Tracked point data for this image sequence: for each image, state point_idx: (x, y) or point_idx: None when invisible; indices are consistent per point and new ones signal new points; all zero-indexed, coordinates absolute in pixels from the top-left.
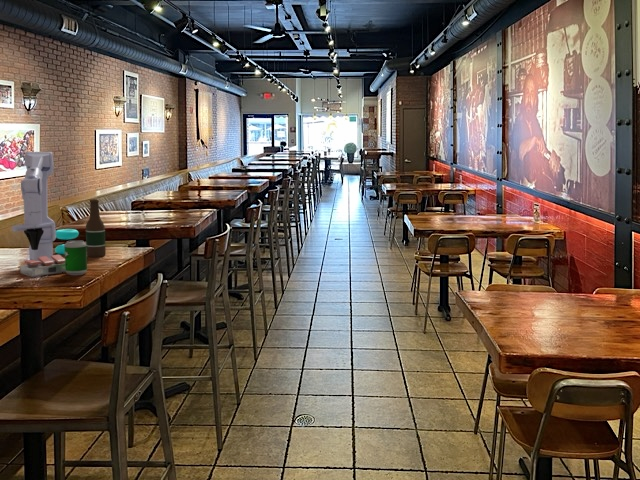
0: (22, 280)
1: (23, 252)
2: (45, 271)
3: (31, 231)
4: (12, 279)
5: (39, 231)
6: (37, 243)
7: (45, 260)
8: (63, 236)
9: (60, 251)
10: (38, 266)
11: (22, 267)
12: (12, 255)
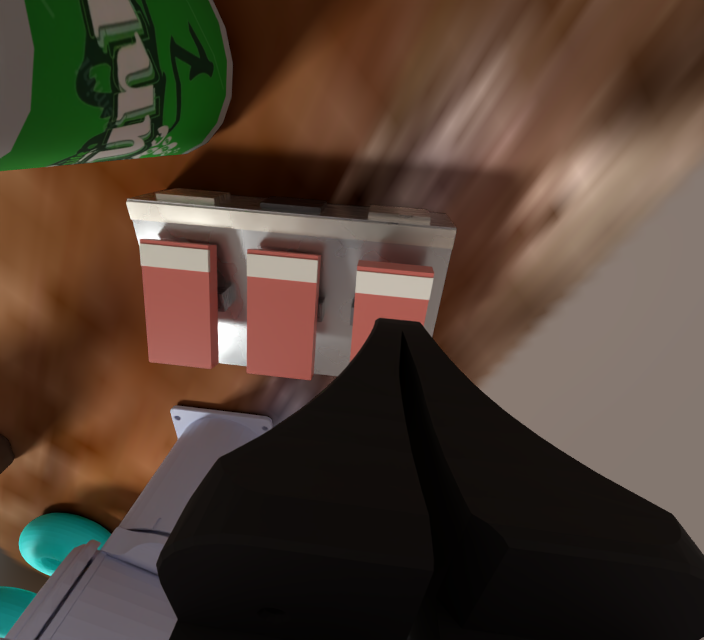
0: (570, 148)
1: None
2: (347, 209)
3: (581, 628)
4: (572, 238)
5: (364, 518)
6: (387, 349)
7: (291, 304)
8: None
9: (100, 539)
10: None
11: None
12: None
